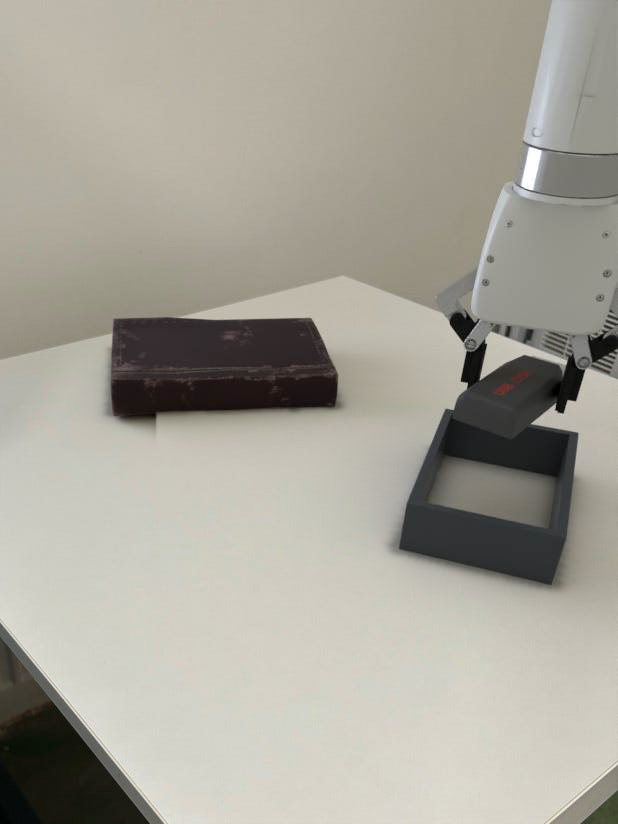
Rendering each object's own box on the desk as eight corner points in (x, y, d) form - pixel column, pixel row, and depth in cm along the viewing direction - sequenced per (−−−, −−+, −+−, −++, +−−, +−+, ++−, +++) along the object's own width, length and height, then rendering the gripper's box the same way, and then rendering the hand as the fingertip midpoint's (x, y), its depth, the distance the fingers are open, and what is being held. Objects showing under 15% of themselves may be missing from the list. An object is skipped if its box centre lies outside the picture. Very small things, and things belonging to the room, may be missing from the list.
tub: (436, 456, 86) (445, 408, 82) (563, 482, 82) (578, 432, 78) (397, 556, 72) (406, 503, 68) (548, 592, 68) (566, 538, 65)
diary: (335, 414, 93) (340, 373, 90) (113, 421, 91) (110, 380, 88) (307, 348, 108) (310, 311, 105) (115, 353, 106) (112, 315, 103)
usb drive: (451, 419, 68) (457, 388, 66) (516, 373, 75) (523, 344, 73) (510, 440, 65) (518, 408, 63) (572, 390, 72) (580, 360, 71)
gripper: (701, 172, 59) (626, 398, 70) (457, 151, 65) (421, 364, 75) (708, 197, 54) (625, 438, 64) (440, 171, 59) (403, 398, 70)
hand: (515, 396), depth 70 cm, fingers closed on usb drive, 6 cm apart
